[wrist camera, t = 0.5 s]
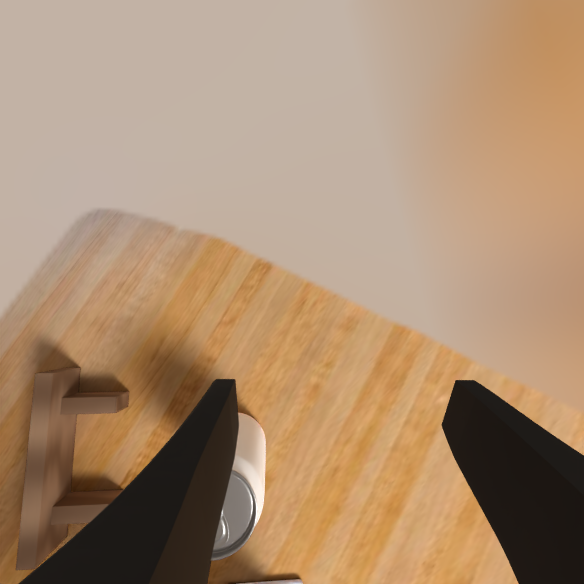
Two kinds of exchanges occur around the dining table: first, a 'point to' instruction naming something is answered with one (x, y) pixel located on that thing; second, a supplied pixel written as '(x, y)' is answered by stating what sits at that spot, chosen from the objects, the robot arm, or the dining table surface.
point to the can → (242, 490)
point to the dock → (58, 464)
